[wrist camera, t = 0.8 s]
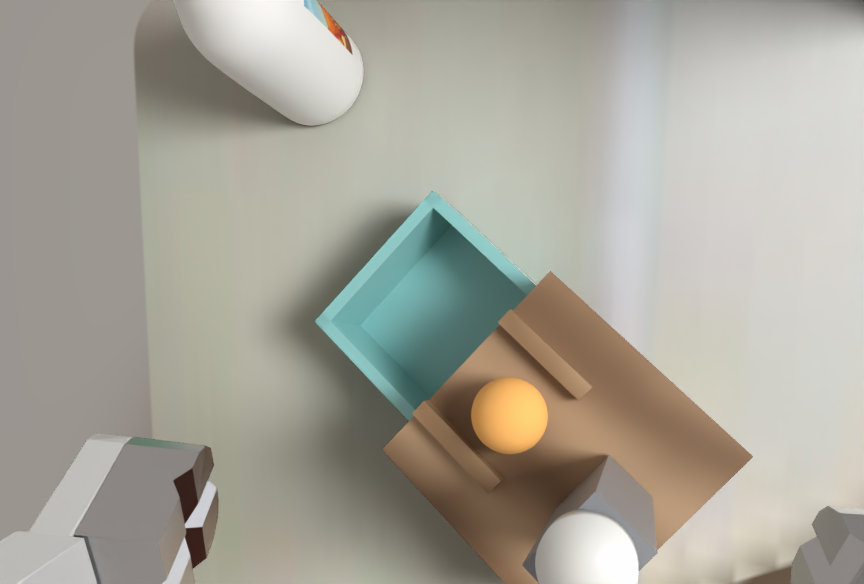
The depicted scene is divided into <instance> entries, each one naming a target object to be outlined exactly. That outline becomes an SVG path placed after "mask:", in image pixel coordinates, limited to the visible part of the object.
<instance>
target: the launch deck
mask: <svg viewBox="0 0 864 584" xmlns="http://www.w3.org/2000/svg"><path fill="white" fill-rule="evenodd" d="M498 323H499V324H500V325H499V326H498V327H497V328H496V329H495V330H494V331H493V332H492V333H491V335H490V336H489V337H488V338H487V339H486V340H485V341H484V342H483V343H482V344H481V345H480V346H479V347H478V348H477V349H476V350H475V352H474V353H473V354H472V355H471V356H470V357H469V358H468V359H467V360H466V361H465V362H464V363H463V364H462V365H461V366H460V367H459V368H458V370H457V371H456V372H455V373H454V374H453V375H452V376H451V377H450V378H449V379H448V380H447V381H446V382H445V383H444V384H443V385H442V387H441V388H440V389H439V390H438V391H437V392H436V393H435V394H434V395H433V396H432V397H431V398H430V399H429V400H426V401H423V402H422V403H421V404H420V405H419V407H418V408H417V409H416V410H415V411H414V412H413V413H412V414H413V415H414V416H413V417H412V418H411V419H410V421H409V422H408V423H407V424H406V425H405V426H404V427H403V428H402V429H401V430H400V431H399V432H398V433H397V434H396V435H395V436H394V438H393V439H392V440H391V441H390V442H389V443H388V444H387V445H386V446H385V447H384V448H383V449H382V450H383V451H384V452H385V453H386V454H387V456H388V457H389V458H390V459H391V460H392V461H393V462H394V463H395V464H396V465H397V466H398V467H399V469H400V470H401V471H402V472H403V473H404V474H405V475H406V476H407V477H408V478H409V479H410V481H411V482H412V483H413V484H414V485H415V486H416V487H417V488H418V489H419V490H420V491H421V493H422V494H423V495H424V496H425V497H426V498H427V499H428V500H429V501H430V502H431V503H432V505H433V506H434V507H435V508H436V509H437V510H438V511H439V512H440V513H441V514H442V515H443V516H444V518H445V519H446V520H447V521H448V522H449V523H450V524H451V525H452V526H453V527H454V528H455V530H456V531H457V532H458V533H459V534H460V535H461V536H462V537H463V538H464V539H465V540H466V542H467V543H468V544H469V545H470V546H471V547H472V548H473V549H474V550H475V551H476V552H477V554H478V555H479V556H480V557H481V558H482V559H483V560H484V561H485V562H486V563H487V564H488V565H489V567H490V568H491V569H492V570H493V571H494V572H495V573H496V574H497V575H498V576H499V577H500V579H501V580H502V581H503V582H504V583H505V584H539V583H538V582H537V581H536V580H535V579H534V577H533V576H532V575H531V574H530V573H529V572H528V571H527V570H526V569H525V568H524V567H523V566H522V564H523V562H524V561H525V559H526V557H527V556H528V554H529V552H530V551H531V549H532V547H533V546H534V544H535V542H536V541H537V539H538V537H539V536H540V534H541V532H542V531H543V529H544V527H545V526H546V524H547V522H548V521H549V519H550V517H551V516H552V514H553V512H554V511H555V509H556V507H557V506H558V505H559V504H560V503H561V502H562V501H563V500H564V499H565V498H566V497H567V496H568V495H569V494H570V493H571V492H572V491H573V490H574V489H575V488H576V487H577V486H578V485H579V484H580V483H581V482H582V481H583V480H584V479H585V478H586V477H587V476H588V475H589V474H590V473H591V472H592V471H593V470H594V469H595V468H596V467H597V466H598V465H599V464H600V463H601V462H602V461H603V460H604V459H605V458H606V457H607V456H608V455H610V456H611V457H612V458H613V459H614V460H615V461H616V462H617V463H618V464H619V465H620V466H621V467H622V468H624V469H625V470H626V471H627V472H628V473H629V474H630V475H631V476H632V477H633V478H634V479H635V480H636V481H637V482H638V483H639V484H640V485H641V486H642V487H643V488H644V489H645V490H646V491H647V492H648V493H649V494H650V495H651V496H652V497H653V507H654V518H655V530H656V542H657V550H658V549H659V548H660V547H661V546H662V545H663V544H664V543H665V542H666V541H667V540H668V539H669V538H670V537H671V536H672V535H673V534H674V533H675V532H676V531H677V530H678V529H679V528H681V527H682V526H683V525H684V524H685V523H686V522H687V521H688V520H689V519H690V518H691V517H692V516H693V515H694V514H695V513H696V512H697V511H698V510H699V509H700V508H701V507H702V506H703V505H704V504H705V503H706V502H707V501H708V500H709V499H710V498H711V497H712V496H713V495H714V494H715V493H716V492H717V491H718V490H719V489H721V488H722V487H723V486H724V485H725V484H726V483H727V482H728V481H729V480H730V479H731V478H732V477H733V476H734V475H735V474H736V473H737V472H738V471H739V470H740V469H741V468H742V467H743V466H744V465H745V464H746V463H747V462H748V461H749V460H750V459H751V458H752V457H753V456H752V455H751V454H750V453H749V452H747V451H746V450H745V449H744V448H743V447H742V446H741V445H740V444H739V443H738V442H737V441H735V440H734V439H733V438H732V437H731V436H730V435H729V434H728V433H727V432H726V431H725V430H723V429H722V428H721V427H720V426H719V425H718V424H717V423H716V422H715V421H714V420H713V419H711V418H710V417H709V416H708V415H707V414H706V413H705V412H704V411H703V410H702V409H701V408H699V407H698V406H697V405H696V404H695V403H694V402H693V401H692V400H691V399H690V398H689V397H687V396H686V395H685V394H684V393H683V392H682V391H681V390H680V389H679V388H678V387H676V386H675V385H674V384H673V383H672V382H671V381H670V380H669V379H668V378H667V377H666V376H664V375H663V374H662V373H661V372H660V371H659V370H658V369H657V368H656V367H655V366H654V365H652V364H651V363H650V362H649V361H648V360H647V359H646V358H645V357H644V356H643V355H642V354H640V353H639V352H638V351H637V350H636V349H635V348H634V347H633V346H632V345H631V344H630V343H628V342H627V341H626V340H625V339H624V338H623V337H622V336H621V335H620V334H619V333H617V332H616V331H615V330H614V329H613V328H612V327H611V326H610V325H609V324H608V323H607V322H605V321H604V320H603V319H602V318H601V317H600V316H599V315H598V314H597V313H596V312H595V311H593V310H592V309H591V308H590V307H589V306H588V305H587V304H586V303H585V302H584V301H583V300H581V299H580V298H579V297H578V296H577V295H576V294H575V293H574V292H573V291H572V290H571V289H569V288H568V287H567V286H566V285H565V284H564V283H563V282H562V281H561V280H560V279H559V278H557V277H556V276H555V275H554V274H553V273H552V272H551V271H550V272H549V273H548V274H547V275H546V276H545V277H544V278H543V279H542V280H541V281H540V282H539V284H538V285H537V286H536V287H535V288H534V289H533V290H532V291H531V292H530V293H529V294H528V295H527V296H526V297H525V298H524V299H523V301H522V302H521V303H520V304H519V305H518V306H517V307H516V308H515V309H514V310H511V309H510V310H509V311H508V312H507V313H506V314H505V315H504V316H503V317H502V318H501V319H500V320H499V322H498ZM503 377H515V378H519V379H522V380H525V381H527V382H529V383H530V384H532V385H533V386H534V387H535V388H536V389H537V390H538V391H539V392H540V393H541V395H542V396H543V398H544V400H545V403H546V406H547V411H548V421H547V426H546V430H545V432H544V434H543V436H542V437H541V439H540V440H539V441H538V443H537V444H535V445H534V446H533V447H532V448H530V449H529V450H527V451H524V452H521V453H517V454H503V453H499V452H496V451H494V450H492V449H490V448H489V447H487V446H486V445H485V444H484V443H482V441H481V440H480V439H479V438H478V436H477V435H476V433H475V431H474V428H473V425H472V420H471V410H472V405H473V402H474V399H475V397H476V395H477V394H478V392H479V391H480V390H481V389H482V388H483V387H484V386H485V385H486V384H488V383H489V382H491V381H493V380H496V379H498V378H503Z"/></svg>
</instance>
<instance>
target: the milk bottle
mask: <svg viewBox="0 0 864 584" xmlns="http://www.w3.org/2000/svg"><path fill="white" fill-rule="evenodd" d="M172 1H173V3H174V5H175V7H176V10H177V13H178V16H179V19H180V21H181V24H182V26H183V28H184V30H185V32H186V34H187V36H188V37H189V39H190V40H191V42H192V43H193V44H194V46H195V47H196V48H197V50H198V51H199V52H200V53H201V54H202V55H203V56H204V57H205V58H206V59H207V60H208V61H209V62H211V63H212V64H213V65H214V66H216V67H217V68H218V69H219V70H221V71H222V72H223V73H224V74H226V75H227V76H229V77H230V78H231V79H233V80H234V81H235V82H237V83H238V84H240V85H241V86H242V87H244V88H245V89H247V90H248V91H249V92H251V93H252V94H254V95H255V96H256V97H258V98H259V99H261V100H262V101H264V102H265V103H266V104H268V105H269V106H271V107H272V108H274V109H275V110H277V111H278V112H279V113H281V114H282V115H284V116H285V117H287V118H289V119H290V120H292V121H294V122H296V123H299V124H302V125H310V126H314V125H322V124H325V123H328V122H331V121H333V120H335V119H337V118H339V117H340V116H342V115H343V114H344V113H345V112H347V111H348V109H349V108H350V107H351V106H352V105H353V104H354V102H355V100H356V98H357V97H358V95H359V92H360V89H361V87H362V81H363V71H364V70H363V61H362V57H361V54H360V52H359V50H358V48H357V46H356V45H355V43H354V42H353V41H352V40H351V38H350V37H349V36H348V35H347V34H346V32H345V31H344V30H343V29H342V28H341V27H340V26H339V25H338V23H337V22H336V21H335V20H334V19H333V18H332V17H331V16H330V14H329V13H328V12H327V11H326V10H325V9H324V8H323V7H322V5H321V4H320V3H319V2H318V1H317V0H172Z"/></svg>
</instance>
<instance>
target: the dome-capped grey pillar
mask: <svg viewBox="0 0 864 584" xmlns="http://www.w3.org/2000/svg"><path fill="white" fill-rule="evenodd" d="M656 554H657V542H656V530H655V518H654V507H653V497H652V496H651V495H650V494H649V493H648V492H647V491H646V490H645V489H644V488H643V487H642V486H641V485H640V484H639V483H638V482H637V481H636V480H635V479H634V478H633V477H632V476H631V475H630V474H629V473H628V472H627V471H626V470H625V469H624V468H622V467H621V466H620V465H619V464H618V463H617V462H616V461H615V460H614V459H613V458H612V457H611V456H610V455H608V456H607V457H606V458H605V459H604V460H603V461H602V462H601V463H600V464H599V465H598V466H597V467H596V468H595V469H594V470H593V471H592V472H591V473H590V474H589V475H588V476H587V477H586V478H585V479H584V480H583V481H582V482H581V483H580V484H579V485H578V486H577V487H576V488H575V489H574V490H573V491H572V492H571V493H570V494H569V495H568V496H567V497H566V498H565V499H564V500H563V501H562V502H561V503H560V504H559V505H558V506H557V507H556V509H555V511H554V512H553V514H552V516H551V517H550V519H549V521H548V522H547V524H546V526H545V527H544V529H543V531H542V532H541V534H540V536H539V537H538V539H537V541H536V542H535V544H534V546H533V547H532V549H531V551H530V552H529V554H528V556H527V557H526V559H525V561H524V562H523V564H522V566H523V567H524V568H525V569H526V570H527V571H528V572H529V573H530V574H531V575H532V576H533V577H534V579H535V580H536V581H537V582H538V583H539V584H637V582H638V571H640V570H641V569H642V568H643V567H644V566H645V565H646V564H647V563H648V562H649V561H650V560H651V559H652V558H653V557H654V556H655V555H656Z"/></svg>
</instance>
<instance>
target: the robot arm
mask: <svg viewBox="0 0 864 584" xmlns="http://www.w3.org/2000/svg"><path fill="white" fill-rule="evenodd" d="M213 466H214V463H213V458H212V452H211V448H210V447H207V446H204V445H196V444H187V443H179V442H171V441H163V440H155V439H147V438H139V437H127V436H118V435H109V434H101V433H96V434H94V435H93V436H92V437H90V438H89V439H88V440H87V441H86V442H85V443H84V445H83V446H82V448H81V449H80V451H79V453H78V454H77V456H76V457H75V459H74V460H73V462H72V463H71V465H70V467H69V468H68V470H67V471H66V473H65V474H64V476H63V478H62V479H61V481H60V483H59V484H58V486H57V487H56V489H55V490H54V492H53V493H52V495H51V497H50V498H49V500H48V501H47V503H46V504H45V506H44V508H43V509H42V511H41V512H40V514H39V515H38V517H37V519H36V520H35V522H34V523H33V525H32V527H31V528H30V530H29V531H28V532H23V531H16V532H14V533H13V534H11V535H10V536H8V537H6V538H5V539H3V540H1V541H0V584H195V581H194V575H193V568H195V567H196V566H197V565H198V564H200V563H201V562H202V561H203V560H205V559H206V558H207V556H208V553H209V550H210V547H211V544H212V542H213V539H214V534H215V529H216V524H217V519H218V493H217V488H216V487H215V486H214V485H213V484H212V483H211V482H210V481H209V480H208V479H209V476H210V474H211V471H212V469H213ZM812 526H813V528H814V531H815V533H816V535H817V537H815V538H813V539H812V540H810V541H808V542H806V543H805V544H803V545H801V546H800V547H799V549H798V551H797V554H796V556H795V558H794V560H793V562H792V573H791V584H864V509H858V508H846V507H835V506H827V507H825V508H824V509H822V510H821V511H819V512H818V514H817V516H816V518H815V520H814V521H813V523H812Z"/></svg>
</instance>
